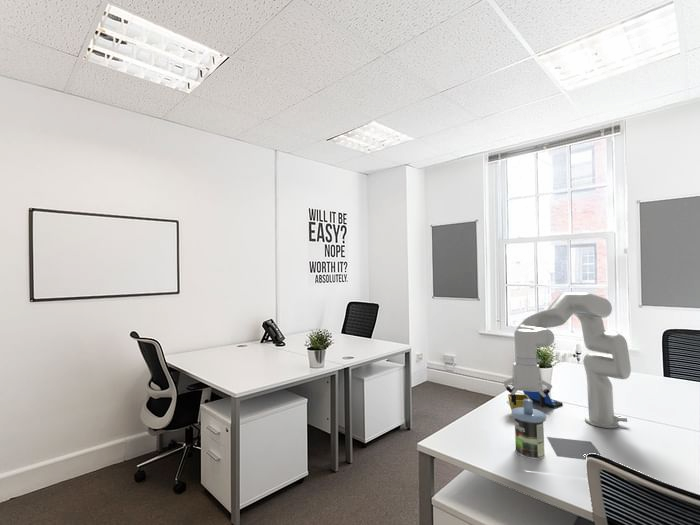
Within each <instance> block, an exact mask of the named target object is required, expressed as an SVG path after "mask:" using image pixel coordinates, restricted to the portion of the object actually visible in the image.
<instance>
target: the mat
mask: <svg viewBox="0 0 700 525" xmlns="http://www.w3.org/2000/svg"><path fill="white" fill-rule="evenodd" d="M546 438H547V441H548V442H549V444H550V446H551V448H552V449H553V451H554V453H555V455H556V457H561V458H568V459H569V458H570V459H577V460H579V459H580V460H586V455H587V454H589V453H596V454H599V455H602V454H601V453H600V451H599V449H598V448H596V445H594V443H593V442H592V441H590V440H589V441H588V440H581V439H572V438H563V437H562V438H560V437H551V436H547V437H546ZM584 454H586V455H584ZM583 455H584V456H585V457H584V456H583Z"/></svg>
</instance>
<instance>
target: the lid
mask: <svg viewBox="0 0 700 525" xmlns="http://www.w3.org/2000/svg"><path fill="white" fill-rule="evenodd" d="M533 403H534V402H532V400H530V399H523V405H524V407H519V408H514V409H512V410H511V416H512V417H513V418H514V419H515V418H516V419H518V420H521V421H524V422H529V423H541V422H543V423H544V422H546V421H547V415H546V413H545V412H543V411H542V410H539V409H536V408H534V406H533Z"/></svg>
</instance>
